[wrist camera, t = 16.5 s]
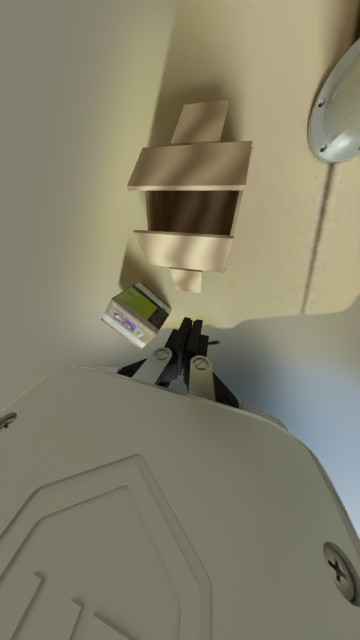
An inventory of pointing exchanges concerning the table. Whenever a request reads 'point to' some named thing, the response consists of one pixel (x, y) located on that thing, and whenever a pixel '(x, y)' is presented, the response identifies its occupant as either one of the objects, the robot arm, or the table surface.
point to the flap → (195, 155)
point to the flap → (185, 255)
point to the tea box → (136, 314)
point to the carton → (193, 211)
